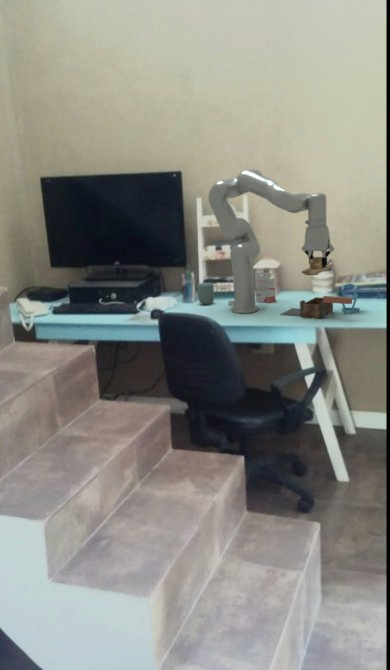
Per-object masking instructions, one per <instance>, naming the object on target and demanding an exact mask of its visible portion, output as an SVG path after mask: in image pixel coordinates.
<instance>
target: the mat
mask: <svg viewBox="0 0 390 670" xmlns="http://www.w3.org/2000/svg"><path fill="white" fill-rule="evenodd" d="M280 316H292V317H300V307H299V308H298V307H297V308H296V307H292V308H289V309H288V310H286V311H284V312H282V313H280Z"/></svg>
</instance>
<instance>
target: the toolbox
mask: <svg viewBox="0 0 390 670" xmlns="http://www.w3.org/2000/svg"><path fill="white" fill-rule="evenodd" d="M333 307H334V303H324V302H323V297H314V298H311V299H309V300H307V301H306V300H303V299H302V300H300V301H299V309H300V316H299V317H300V318H302V319H312V318H315V319H314V320H324V319H326V316H328V315H330V314H331V313H333V312H334V308H333Z"/></svg>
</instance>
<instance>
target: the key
mask: <svg viewBox="0 0 390 670" xmlns="http://www.w3.org/2000/svg"><path fill="white" fill-rule="evenodd" d="M322 298H323V302H324V303H333V304H341V305H342V304H345V305H353V299H352V297H342V296H333V295H328V296H327V295H324V296H322Z"/></svg>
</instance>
